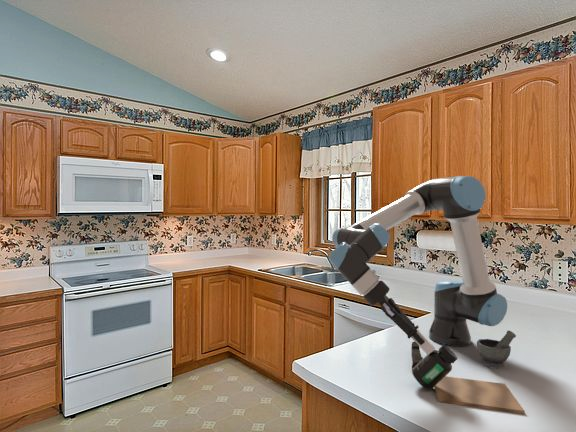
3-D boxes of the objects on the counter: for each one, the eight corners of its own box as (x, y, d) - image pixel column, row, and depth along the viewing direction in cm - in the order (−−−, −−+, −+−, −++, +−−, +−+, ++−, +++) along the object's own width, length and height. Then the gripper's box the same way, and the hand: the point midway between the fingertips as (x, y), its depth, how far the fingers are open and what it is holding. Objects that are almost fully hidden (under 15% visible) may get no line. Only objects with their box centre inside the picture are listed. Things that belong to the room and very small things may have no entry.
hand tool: (425, 376, 111) (426, 361, 111) (411, 374, 112) (412, 359, 112) (422, 353, 129) (422, 340, 129) (410, 352, 131) (411, 339, 130)
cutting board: (438, 401, 95) (438, 398, 95) (431, 377, 110) (431, 374, 110) (524, 414, 90) (524, 410, 90) (504, 386, 105) (505, 383, 105)
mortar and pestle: (476, 367, 118) (478, 330, 118) (475, 356, 127) (476, 322, 127) (517, 374, 113) (518, 336, 113) (513, 363, 122) (514, 327, 122)
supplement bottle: (424, 390, 99) (455, 361, 96) (407, 369, 103) (436, 340, 101) (434, 390, 103) (464, 362, 101) (417, 370, 108) (445, 342, 105)
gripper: (380, 282, 100) (444, 350, 95) (381, 276, 112) (438, 335, 107) (360, 300, 101) (423, 368, 96) (363, 292, 114) (419, 351, 109)
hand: (431, 351), depth 102 cm, fingers closed
